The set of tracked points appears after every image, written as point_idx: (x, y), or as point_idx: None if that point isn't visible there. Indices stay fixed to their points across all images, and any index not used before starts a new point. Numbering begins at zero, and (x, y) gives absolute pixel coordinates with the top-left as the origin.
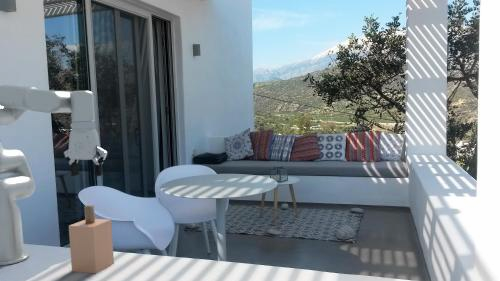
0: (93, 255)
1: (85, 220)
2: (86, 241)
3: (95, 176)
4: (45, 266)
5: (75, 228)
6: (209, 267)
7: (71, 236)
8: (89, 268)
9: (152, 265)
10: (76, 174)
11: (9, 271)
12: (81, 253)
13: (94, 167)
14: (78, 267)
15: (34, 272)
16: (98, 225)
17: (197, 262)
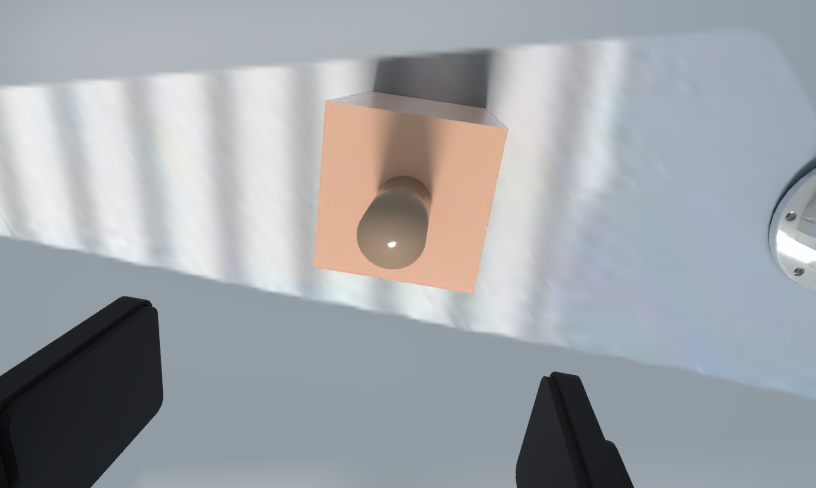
0: (367, 95)
1: (421, 187)
2: (391, 103)
3: (150, 304)
4: (633, 155)
5: (455, 118)
6: (4, 175)
7: (487, 120)
8: (399, 96)
9: (205, 185)
10: (529, 436)
11: (775, 87)
12: (431, 105)
13: (29, 378)
14: (453, 104)
15: (647, 84)
16: (323, 153)
17: (69, 220)
